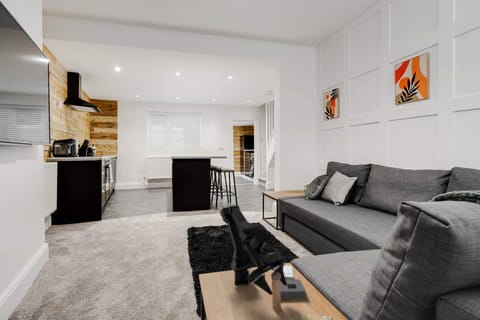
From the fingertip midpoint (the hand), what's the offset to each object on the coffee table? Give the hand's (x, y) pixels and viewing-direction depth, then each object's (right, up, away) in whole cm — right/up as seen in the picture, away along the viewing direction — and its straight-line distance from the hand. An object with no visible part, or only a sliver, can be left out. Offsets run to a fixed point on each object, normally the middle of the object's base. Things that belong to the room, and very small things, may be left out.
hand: (279, 289), depth 94 cm
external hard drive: (+8, -8, +30) cm, 32 cm away
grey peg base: (+6, -7, +12) cm, 15 cm away
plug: (-1, -8, +1) cm, 8 cm away
